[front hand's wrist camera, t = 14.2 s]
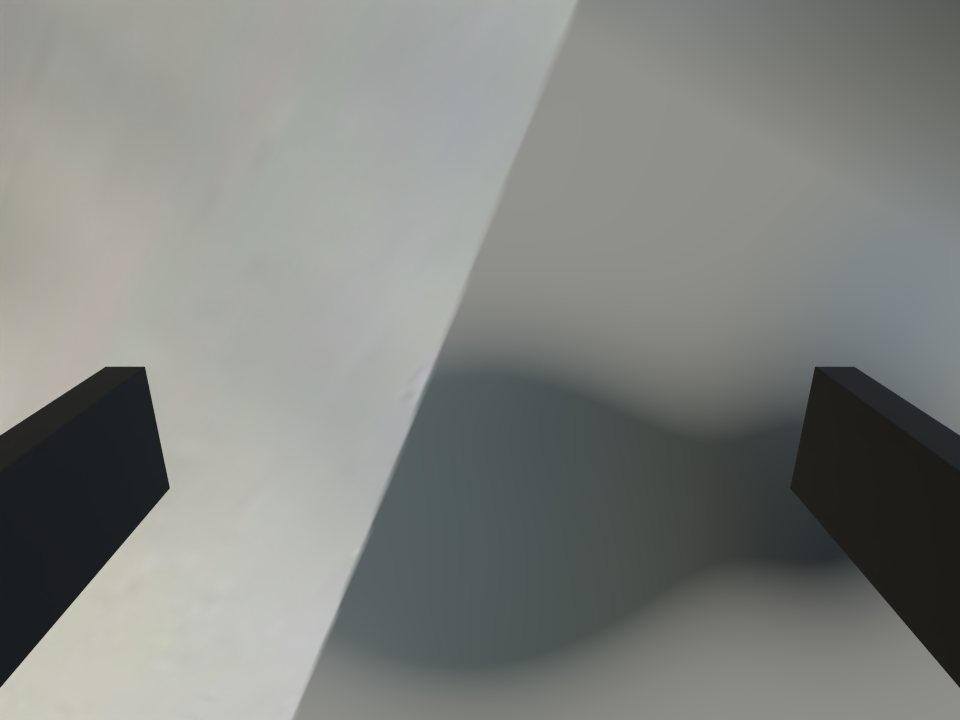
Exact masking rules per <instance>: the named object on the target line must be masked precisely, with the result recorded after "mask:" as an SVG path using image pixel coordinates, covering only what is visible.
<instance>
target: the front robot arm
mask: <svg viewBox="0 0 960 720" xmlns="http://www.w3.org/2000/svg"><path fill="white" fill-rule="evenodd" d="M169 488H170V487H169V482H168V477H167V473H166V468H165V463H164V458H163V453H162V448H161V443H160V438H159V434H158V429H157V424H156V419H155V414H154V409H153V404H152V399H151V394H150V390H149V385H148V380H147V375H146V370H145V367H105V368H103V369H102V370H100V371H99V372H97V373H95V374H94V375H92V376H91V377H89V378H88V379H86V380H85V381H83V382H82V383H80V384H79V385H77V386H76V387H74V388H72V389H71V390H69V391H68V392H66V393H65V394H63V395H62V396H60V397H59V398H57V399H56V400H54V401H53V402H51V403H49V404H48V405H46V406H45V407H43V408H42V409H40V410H39V411H37V412H36V413H34V414H33V415H31V416H29V417H28V418H26V419H25V420H23V421H22V422H20V423H19V424H17V425H16V426H14V427H13V428H11V429H10V430H8V431H6V432H5V433H3V434H2V435H0V687H1V686H2V685H3V684H4V683H5V681H6V680H7V679H8V678H9V677H10V676H11V674H12V673H13V672H14V671H15V670H16V668H17V667H18V666H19V665H20V664H21V663H22V661H23V660H24V659H25V658H26V657H27V656H28V654H29V653H30V652H31V651H32V650H33V648H34V647H35V646H36V645H37V644H38V643H39V641H40V640H41V639H42V638H43V637H44V636H45V634H46V633H47V632H48V631H49V630H50V628H51V627H52V626H53V625H54V624H55V623H56V621H57V620H58V619H59V618H60V617H61V616H62V614H63V613H64V612H65V611H66V610H67V608H68V607H69V606H70V605H71V604H72V603H73V601H74V600H75V599H76V598H77V597H78V596H79V594H80V593H81V592H82V591H83V590H84V588H85V587H86V586H87V585H88V584H89V583H90V581H91V580H92V579H93V578H94V577H95V576H96V574H97V573H98V572H99V571H100V570H101V568H102V567H103V566H104V565H105V564H106V563H107V561H108V560H109V559H110V558H111V557H112V556H113V554H114V553H115V552H116V551H117V550H118V548H119V547H120V546H121V545H122V544H123V543H124V541H125V540H126V539H127V538H128V537H129V536H130V534H131V533H132V532H133V531H134V530H135V528H136V527H137V526H138V525H139V524H140V523H141V521H142V520H143V519H144V518H145V517H146V516H147V514H148V513H149V512H150V511H151V510H152V508H153V507H154V506H155V505H156V504H157V503H158V501H159V500H160V499H161V498H162V497H163V495H164V494H165V493H166V492H167V491H168V490H169ZM790 488H791V490H792V491H793V492H794V493H795V494H796V495H797V497H798V498H799V499H800V500H801V501H802V503H803V504H804V505H805V506H806V507H807V508H808V510H809V511H810V512H811V513H812V514H813V515H814V517H815V518H816V519H817V520H818V521H819V523H820V524H821V525H822V526H823V527H824V528H825V530H826V531H827V532H828V533H829V534H830V535H831V537H832V538H833V539H834V540H835V541H836V542H837V544H838V545H839V546H840V547H841V548H842V550H843V551H844V552H845V553H846V554H847V556H848V557H849V558H850V559H851V560H852V561H853V563H854V564H855V565H856V566H857V567H858V568H859V570H860V571H861V572H862V573H863V574H864V575H865V577H866V578H867V579H868V580H869V581H870V583H871V584H872V585H873V586H874V587H875V588H876V590H877V591H878V592H879V593H880V594H881V595H882V597H883V598H884V599H885V600H886V601H887V603H888V604H889V605H890V606H891V607H892V608H893V610H894V611H895V612H896V613H897V614H898V616H899V617H900V618H901V619H902V620H903V621H904V623H905V624H906V625H907V626H908V627H909V628H910V630H911V631H912V632H913V633H914V634H915V635H916V637H917V638H918V639H919V640H920V641H921V643H922V644H923V645H924V646H925V647H926V648H927V650H928V651H929V652H930V653H931V654H932V655H933V657H934V658H935V659H936V660H937V661H938V663H939V664H940V665H941V666H942V667H943V668H944V670H945V671H946V672H947V673H948V674H949V676H950V677H951V678H952V679H953V680H954V681H955V683H956V684H957V685H958V686H959V687H960V435H958V434H957V433H955V432H954V431H952V430H950V429H949V428H947V427H946V426H944V425H943V424H941V423H940V422H938V421H937V420H935V419H934V418H932V417H931V416H929V415H927V414H926V413H924V412H923V411H921V410H920V409H918V408H917V407H915V406H914V405H912V404H911V403H909V402H907V401H906V400H904V399H903V398H901V397H900V396H898V395H897V394H895V393H894V392H892V391H891V390H889V389H887V388H886V387H884V386H883V385H881V384H880V383H878V382H877V381H875V380H874V379H872V378H871V377H869V376H868V375H866V374H864V373H863V372H861V371H860V370H858V369H857V368H855V367H815V370H814V375H813V380H812V385H811V390H810V394H809V399H808V404H807V409H806V414H805V419H804V424H803V429H802V434H801V438H800V443H799V448H798V453H797V458H796V463H795V468H794V473H793V477H792V482H791V487H790Z"/></svg>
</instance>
